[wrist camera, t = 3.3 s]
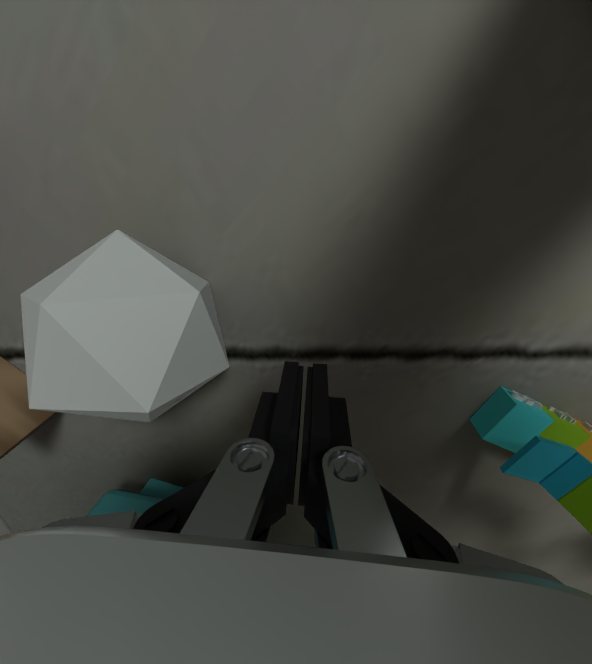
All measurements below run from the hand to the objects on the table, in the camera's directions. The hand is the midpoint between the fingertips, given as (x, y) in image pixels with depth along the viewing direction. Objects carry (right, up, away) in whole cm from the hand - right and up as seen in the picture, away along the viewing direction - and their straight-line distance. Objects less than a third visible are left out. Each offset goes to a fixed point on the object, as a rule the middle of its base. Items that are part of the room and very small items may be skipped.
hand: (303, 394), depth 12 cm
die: (-8, +4, +6) cm, 11 cm away
